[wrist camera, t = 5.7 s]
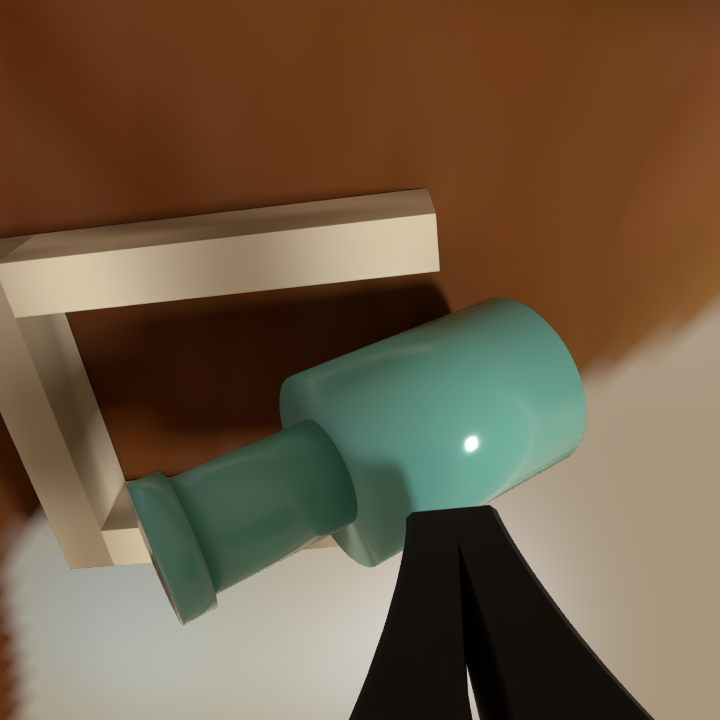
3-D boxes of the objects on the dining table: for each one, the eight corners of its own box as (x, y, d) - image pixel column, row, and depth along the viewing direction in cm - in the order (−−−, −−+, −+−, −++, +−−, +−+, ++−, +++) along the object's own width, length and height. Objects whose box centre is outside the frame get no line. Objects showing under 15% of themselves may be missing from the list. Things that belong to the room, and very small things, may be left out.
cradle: (97, 518, 19) (70, 569, 18) (-14, 240, 15) (-63, 271, 14) (448, 485, 19) (457, 536, 17) (427, 188, 15) (435, 213, 13)
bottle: (463, 418, 18) (150, 570, 14) (455, 278, 16) (93, 410, 12) (582, 494, 14) (220, 713, 11) (590, 330, 13) (157, 528, 9)
